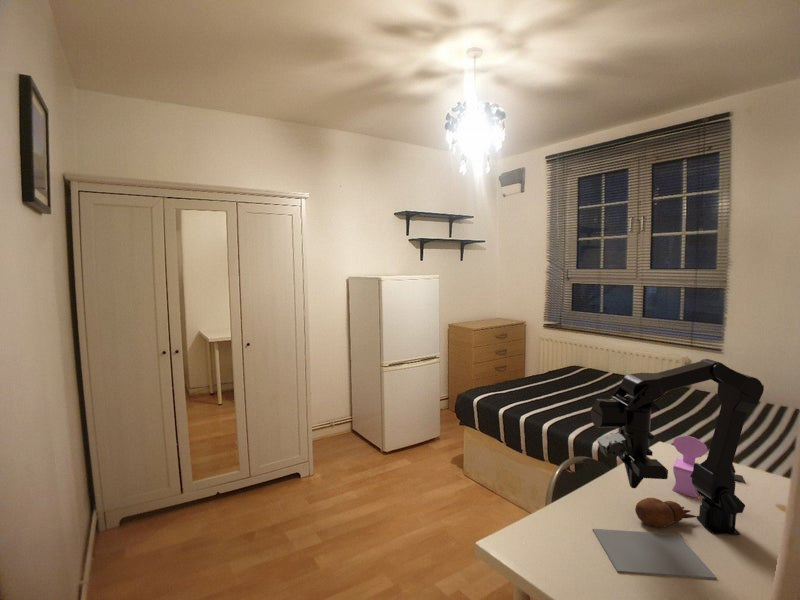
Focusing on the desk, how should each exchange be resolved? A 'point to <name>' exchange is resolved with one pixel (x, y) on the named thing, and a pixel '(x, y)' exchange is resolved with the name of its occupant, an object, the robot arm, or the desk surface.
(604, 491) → the desk surface
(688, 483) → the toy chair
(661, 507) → the wooden figurine
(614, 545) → the mat
